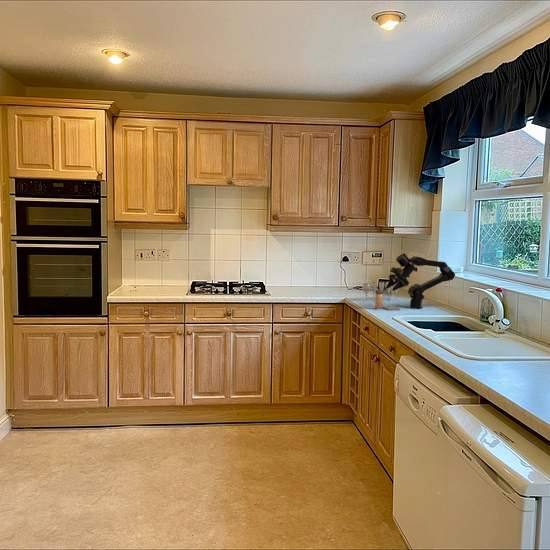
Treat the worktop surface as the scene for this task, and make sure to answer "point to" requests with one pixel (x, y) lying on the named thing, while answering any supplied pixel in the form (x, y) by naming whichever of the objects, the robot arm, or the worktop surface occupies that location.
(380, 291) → the spice jar
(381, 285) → the goblet set
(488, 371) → the worktop surface
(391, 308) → the slate board
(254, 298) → the worktop surface
